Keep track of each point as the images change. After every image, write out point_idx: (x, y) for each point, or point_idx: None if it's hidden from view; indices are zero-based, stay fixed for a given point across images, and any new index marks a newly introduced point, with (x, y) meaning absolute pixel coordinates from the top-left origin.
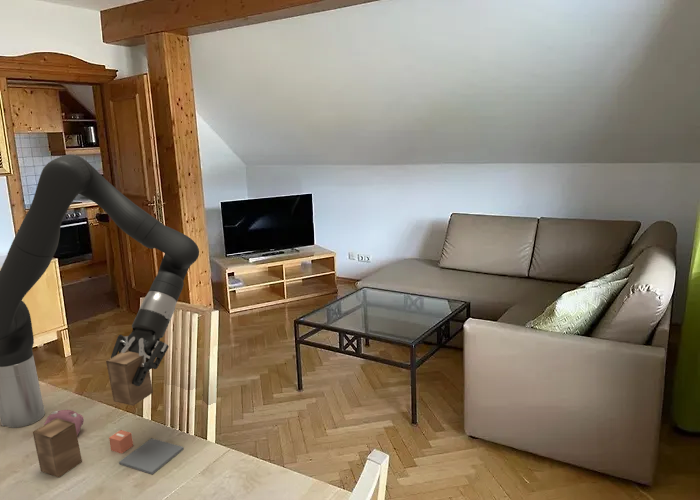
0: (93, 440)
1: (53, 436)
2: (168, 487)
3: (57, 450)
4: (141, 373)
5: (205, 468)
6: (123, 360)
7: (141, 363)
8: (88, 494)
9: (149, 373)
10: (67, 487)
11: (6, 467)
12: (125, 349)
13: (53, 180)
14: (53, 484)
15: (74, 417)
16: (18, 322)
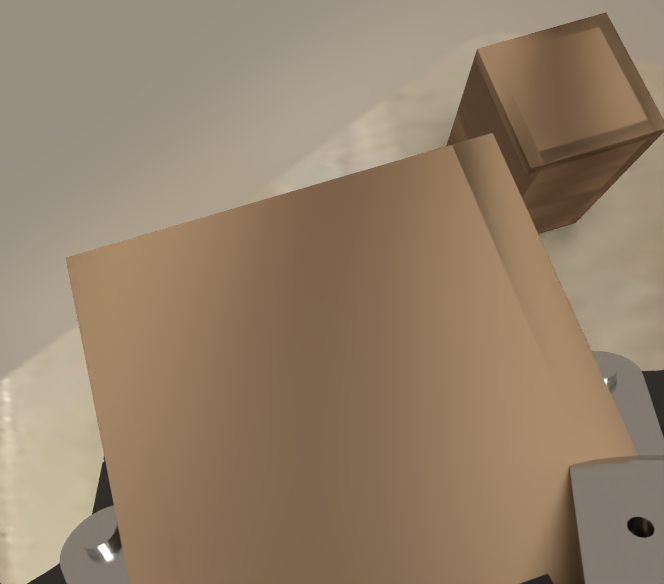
0: (609, 347)
1: (481, 62)
2: (41, 396)
3: (466, 114)
4: (103, 478)
5: (5, 571)
6: (252, 304)
7: (103, 539)
8: (258, 192)
9: None
10: (357, 161)
11: (657, 67)
12: (620, 522)
13: None
14: (415, 137)
15: None
16: None
